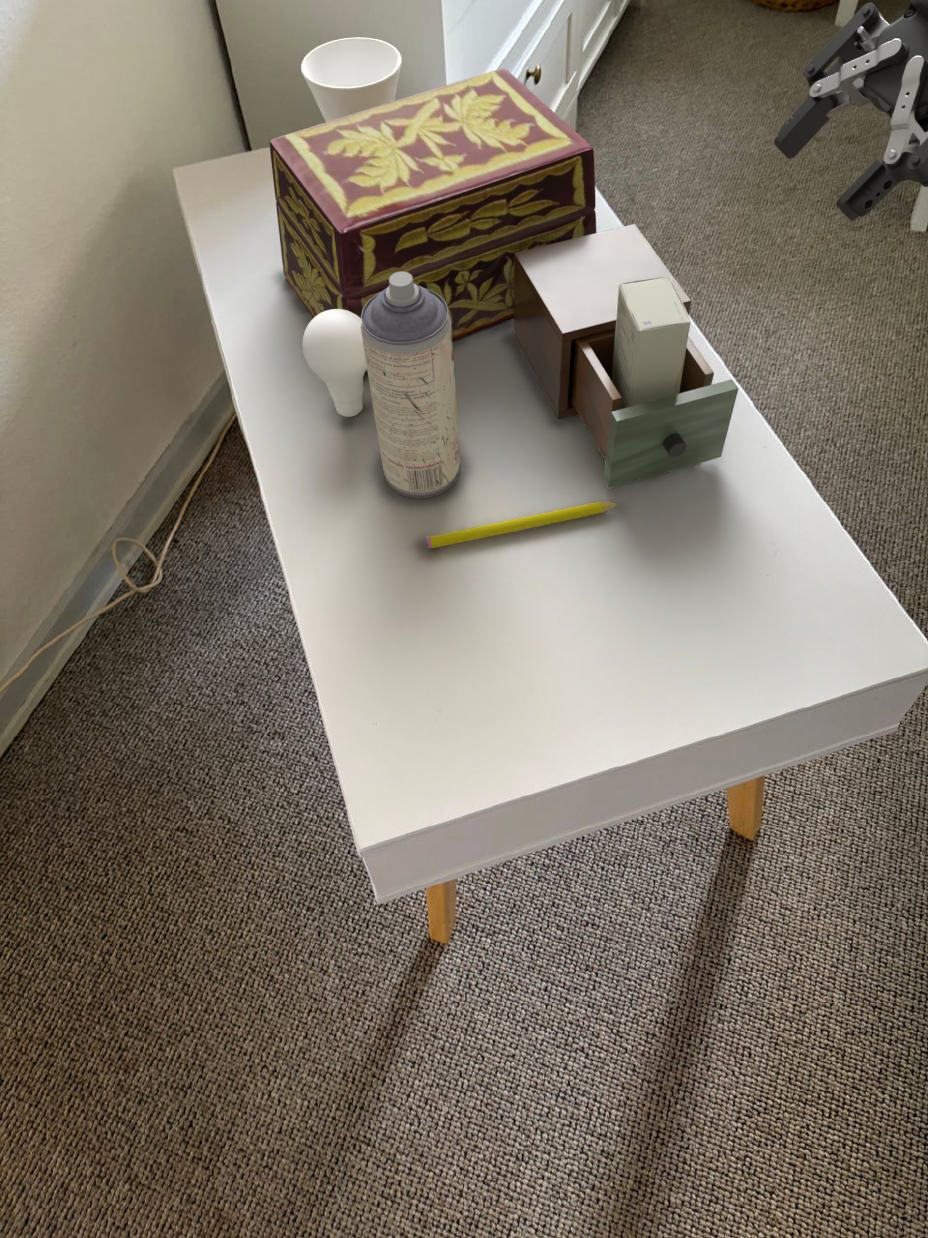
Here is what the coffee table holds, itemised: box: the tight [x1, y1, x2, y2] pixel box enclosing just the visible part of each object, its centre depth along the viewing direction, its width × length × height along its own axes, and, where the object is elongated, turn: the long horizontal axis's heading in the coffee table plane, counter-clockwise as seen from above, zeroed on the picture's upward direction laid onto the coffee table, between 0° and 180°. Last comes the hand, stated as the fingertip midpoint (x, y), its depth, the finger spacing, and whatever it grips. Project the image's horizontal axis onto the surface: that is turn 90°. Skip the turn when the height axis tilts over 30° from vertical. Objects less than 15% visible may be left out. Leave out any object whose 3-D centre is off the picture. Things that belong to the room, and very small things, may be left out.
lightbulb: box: [302, 309, 367, 418], centre depth 87 cm, size 6×6×11 cm
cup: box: [300, 37, 403, 122], centre depth 107 cm, size 10×10×14 cm
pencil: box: [425, 501, 617, 550], centre depth 82 cm, size 16×1×1 cm, turn 103°
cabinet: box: [513, 223, 692, 420], centre depth 90 cm, size 12×12×10 cm
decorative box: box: [269, 68, 597, 376], centre depth 96 cm, size 28×19×15 cm
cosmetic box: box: [611, 277, 692, 409], centre depth 82 cm, size 6×4×12 cm
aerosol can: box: [361, 272, 461, 499], centre depth 79 cm, size 7×7×20 cm
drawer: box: [571, 328, 739, 490], centre depth 84 cm, size 12×11×8 cm
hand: (811, 181), depth 71 cm, fingers open, 8 cm apart
